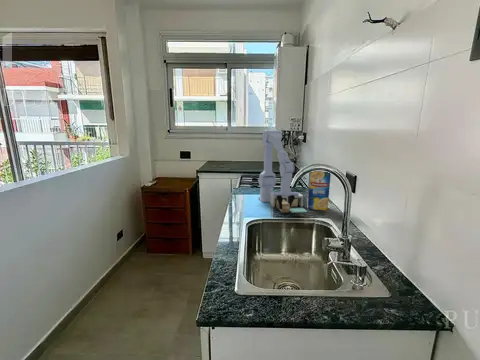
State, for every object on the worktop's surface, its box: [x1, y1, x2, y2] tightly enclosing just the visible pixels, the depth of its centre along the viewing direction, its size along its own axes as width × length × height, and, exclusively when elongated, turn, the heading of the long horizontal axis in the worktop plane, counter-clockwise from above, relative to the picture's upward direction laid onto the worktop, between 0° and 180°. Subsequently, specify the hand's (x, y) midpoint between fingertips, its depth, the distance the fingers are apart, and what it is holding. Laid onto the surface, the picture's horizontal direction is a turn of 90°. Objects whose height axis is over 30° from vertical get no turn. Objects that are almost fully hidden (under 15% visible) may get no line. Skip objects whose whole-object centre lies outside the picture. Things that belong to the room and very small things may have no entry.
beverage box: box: [306, 171, 332, 211], centre depth 154 cm, size 7×11×22 cm, turn 81°
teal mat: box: [289, 207, 308, 214], centre depth 150 cm, size 7×9×1 cm
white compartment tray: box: [269, 192, 304, 208], centre depth 160 cm, size 7×18×6 cm, turn 98°
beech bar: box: [275, 199, 291, 213], centre depth 152 cm, size 12×4×4 cm, turn 10°
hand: (284, 208), depth 148 cm, fingers closed on beech bar, 4 cm apart
